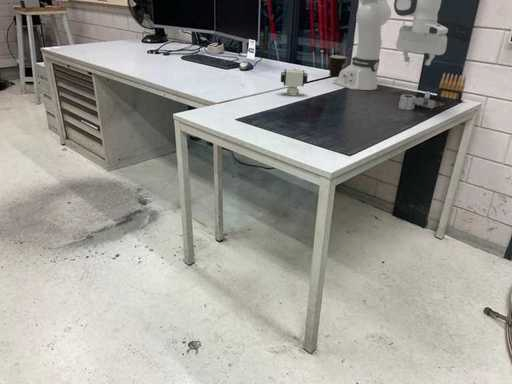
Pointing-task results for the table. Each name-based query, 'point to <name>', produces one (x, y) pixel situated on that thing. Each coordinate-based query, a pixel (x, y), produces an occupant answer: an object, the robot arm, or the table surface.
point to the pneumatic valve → (293, 80)
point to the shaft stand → (427, 102)
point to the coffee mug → (336, 65)
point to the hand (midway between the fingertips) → (416, 63)
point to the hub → (407, 102)
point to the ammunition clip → (451, 88)
